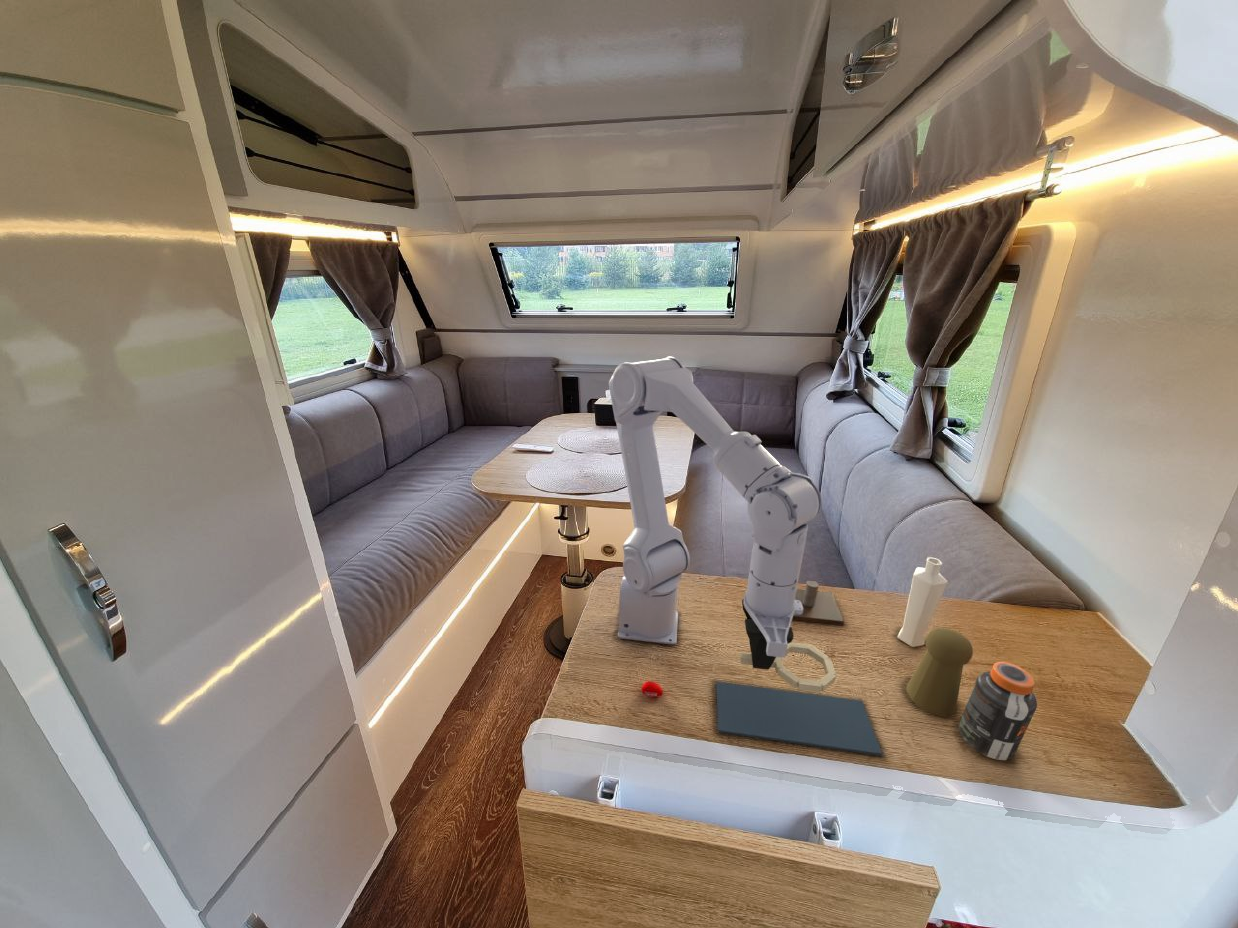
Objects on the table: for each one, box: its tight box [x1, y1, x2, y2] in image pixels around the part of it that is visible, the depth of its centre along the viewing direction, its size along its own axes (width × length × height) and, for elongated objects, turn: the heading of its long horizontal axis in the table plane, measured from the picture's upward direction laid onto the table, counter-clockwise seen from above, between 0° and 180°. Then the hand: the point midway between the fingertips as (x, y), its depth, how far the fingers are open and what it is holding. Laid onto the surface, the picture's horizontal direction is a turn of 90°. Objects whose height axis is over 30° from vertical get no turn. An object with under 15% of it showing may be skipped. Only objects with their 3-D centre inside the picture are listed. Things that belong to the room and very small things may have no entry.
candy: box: [641, 680, 664, 698], centre depth 66 cm, size 3×2×2 cm, turn 83°
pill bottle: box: [958, 661, 1038, 761], centre depth 59 cm, size 6×6×11 cm
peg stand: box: [792, 580, 845, 626], centre depth 84 cm, size 14×8×5 cm, turn 81°
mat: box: [715, 681, 884, 757], centre depth 63 cm, size 20×8×1 cm, turn 81°
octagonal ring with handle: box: [739, 641, 837, 693], centre depth 62 cm, size 12×7×3 cm, turn 82°
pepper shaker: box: [905, 627, 974, 717], centre depth 65 cm, size 6×6×11 cm
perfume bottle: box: [897, 556, 949, 648], centre depth 75 cm, size 5×4×15 cm
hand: (759, 658), depth 62 cm, fingers closed on octagonal ring with handle, 2 cm apart
